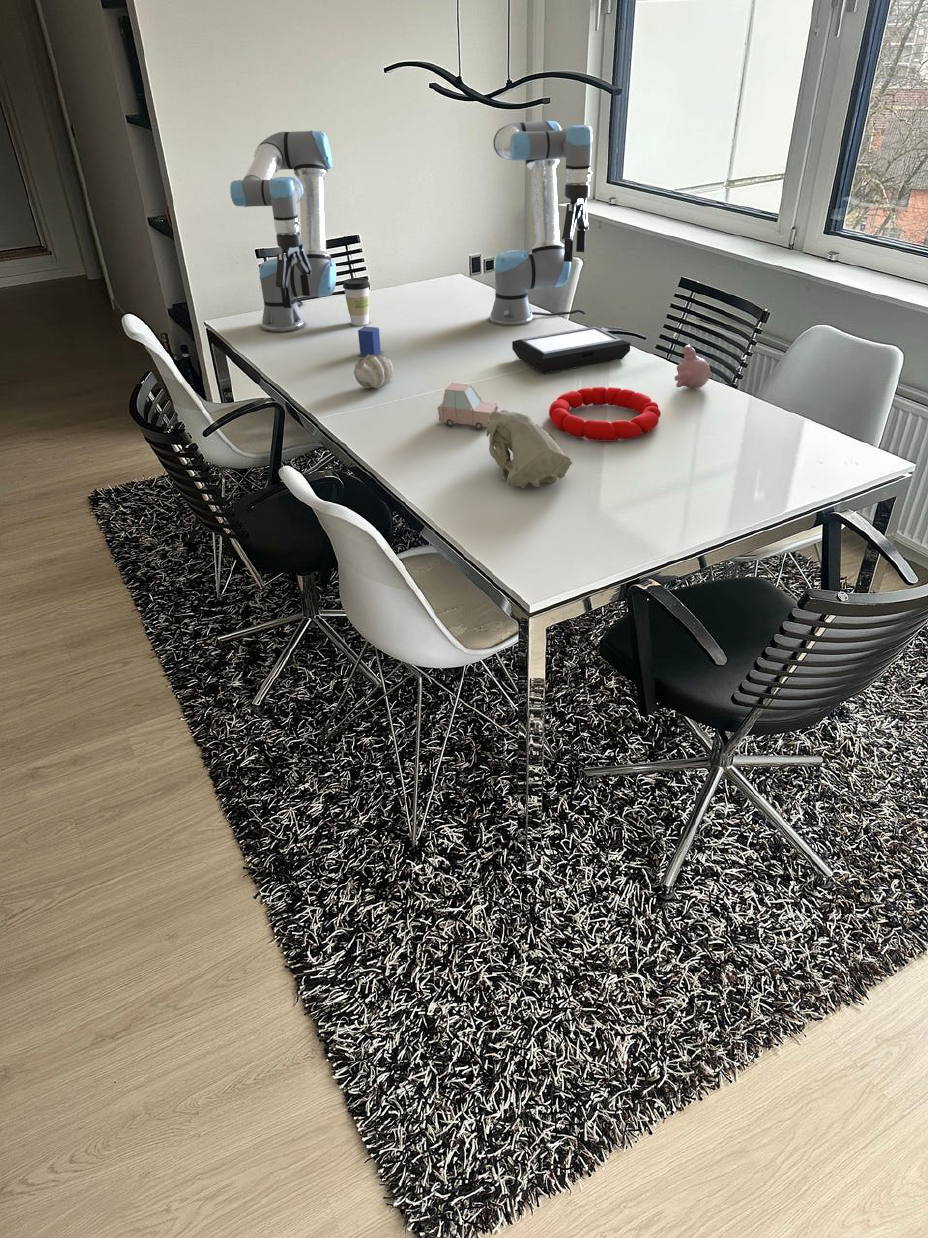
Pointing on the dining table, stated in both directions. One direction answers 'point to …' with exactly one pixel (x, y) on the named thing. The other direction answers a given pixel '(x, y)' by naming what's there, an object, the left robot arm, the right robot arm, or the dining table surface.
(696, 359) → the figurine
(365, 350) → the brick
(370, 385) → the seashell
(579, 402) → the decorative ring
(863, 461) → the dining table surface
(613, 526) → the dining table surface
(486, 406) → the toy car
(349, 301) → the coffee cup
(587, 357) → the electronic device
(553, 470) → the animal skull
